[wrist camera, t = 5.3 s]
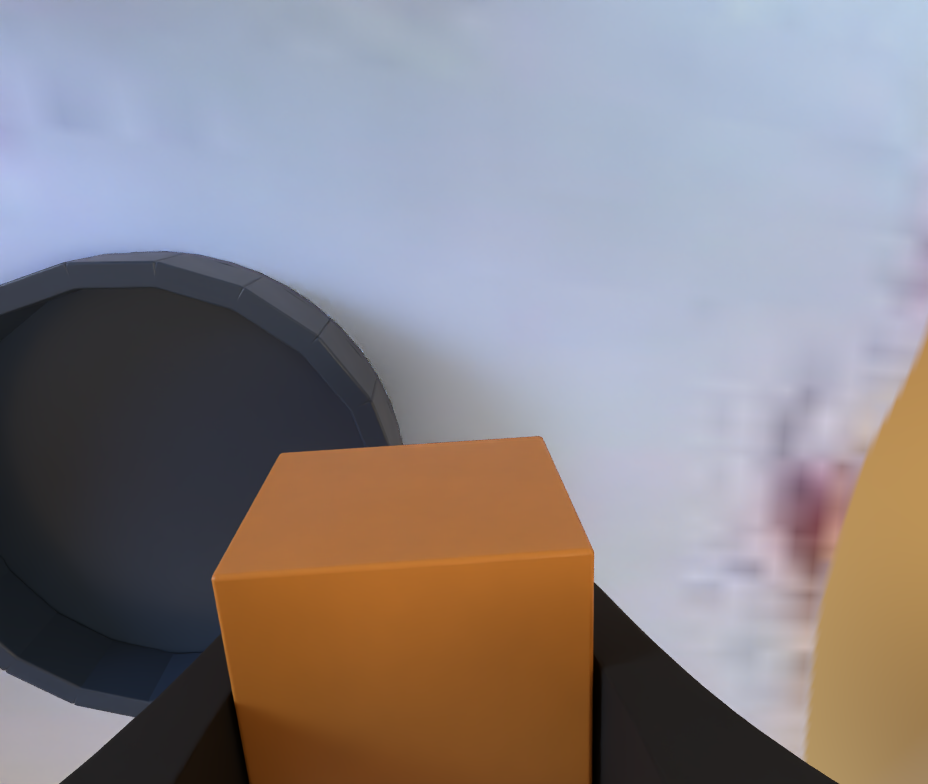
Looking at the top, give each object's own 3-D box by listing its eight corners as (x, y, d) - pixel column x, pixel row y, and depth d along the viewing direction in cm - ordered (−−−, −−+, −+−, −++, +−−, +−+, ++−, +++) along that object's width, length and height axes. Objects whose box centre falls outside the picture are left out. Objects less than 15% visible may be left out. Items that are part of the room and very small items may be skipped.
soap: (547, 747, 12) (591, 955, 9) (324, 765, 12) (283, 983, 9) (542, 434, 10) (595, 549, 7) (279, 451, 10) (208, 577, 7)
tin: (344, 693, 21) (333, 758, 19) (-66, 605, 19) (-135, 663, 17) (459, 329, 18) (464, 351, 16) (-20, 186, 16) (-97, 186, 14)
